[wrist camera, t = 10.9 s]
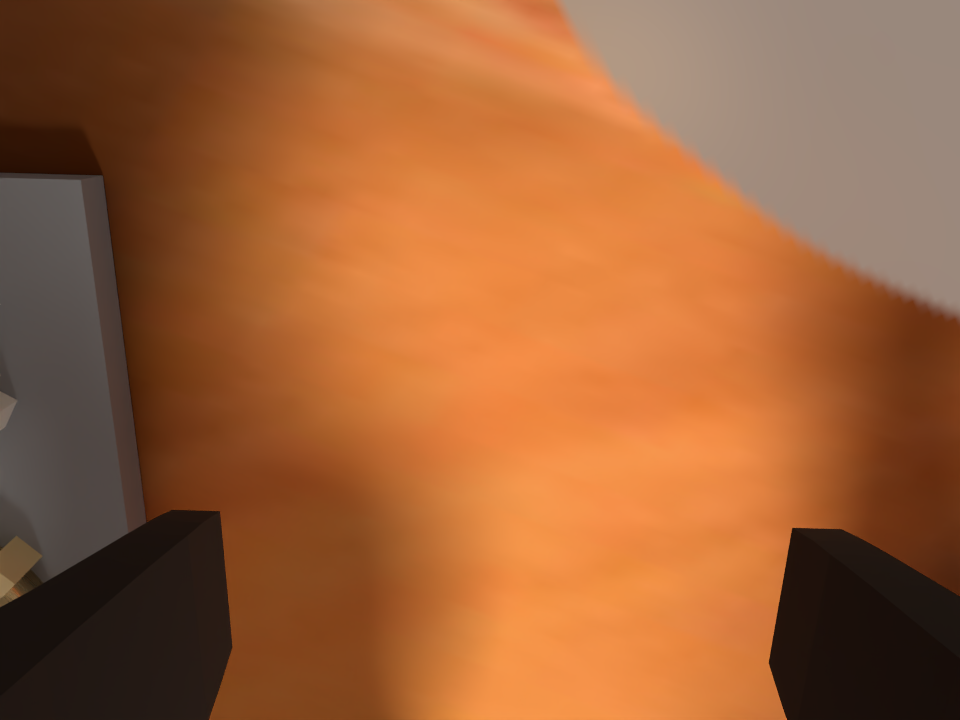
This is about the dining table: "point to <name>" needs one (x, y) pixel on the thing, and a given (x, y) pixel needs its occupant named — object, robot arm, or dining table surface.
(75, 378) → the gear board
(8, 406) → the gear
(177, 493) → the dining table surface
